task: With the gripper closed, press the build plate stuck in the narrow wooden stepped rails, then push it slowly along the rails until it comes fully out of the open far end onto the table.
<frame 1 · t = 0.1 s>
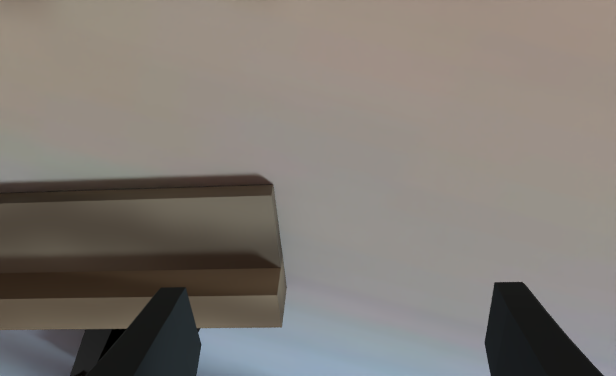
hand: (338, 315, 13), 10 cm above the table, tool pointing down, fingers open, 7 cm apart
wooden stepped rails: (148, 350, 29), on the table
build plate: (138, 340, 30), on the table
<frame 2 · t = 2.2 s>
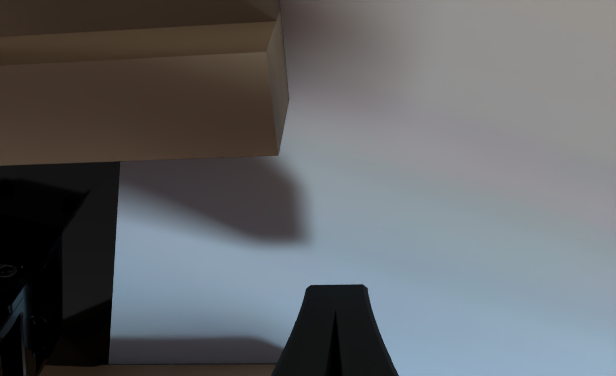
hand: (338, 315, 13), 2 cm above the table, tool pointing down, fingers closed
wooden stepped rails: (25, 260, 15), on the table
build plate: (30, 249, 16), on the table
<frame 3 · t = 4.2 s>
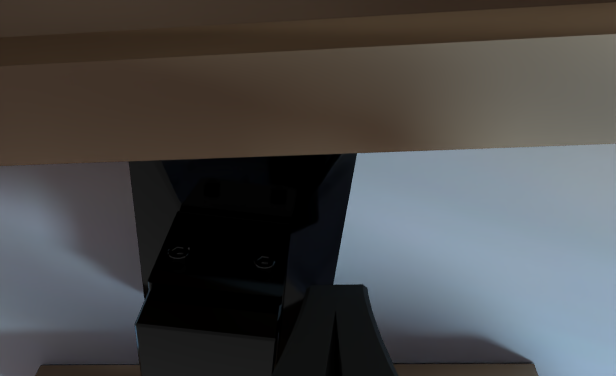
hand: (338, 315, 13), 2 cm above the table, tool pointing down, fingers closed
wooden stepped rails: (260, 255, 15), on the table
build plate: (240, 246, 16), on the table
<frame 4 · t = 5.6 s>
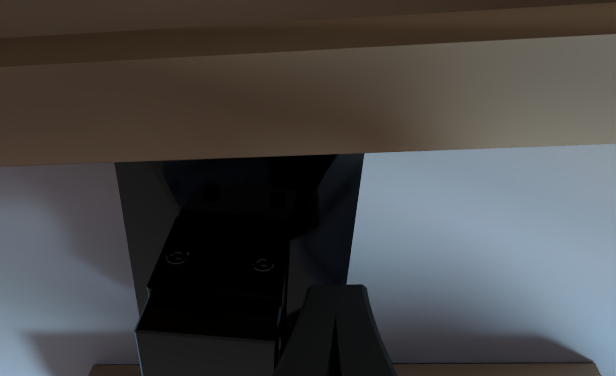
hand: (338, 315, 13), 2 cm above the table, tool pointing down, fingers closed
wooden stepped rails: (326, 254, 15), on the table
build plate: (242, 250, 16), on the table
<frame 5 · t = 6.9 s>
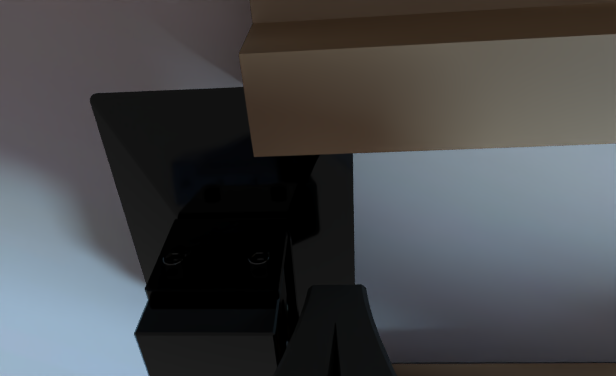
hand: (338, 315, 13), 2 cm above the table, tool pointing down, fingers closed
wooden stepped rails: (591, 248, 14), on the table
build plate: (248, 248, 16), on the table
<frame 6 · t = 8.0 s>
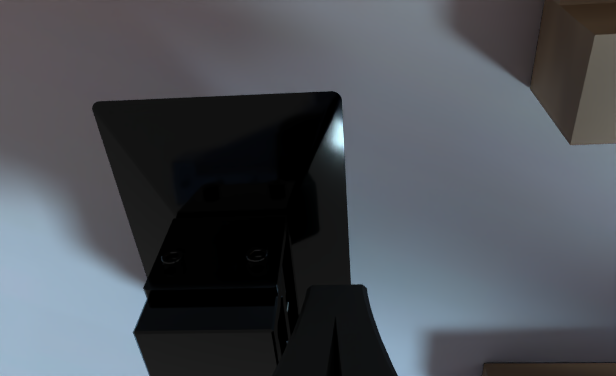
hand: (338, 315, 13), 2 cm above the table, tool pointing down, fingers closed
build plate: (248, 247, 16), on the table
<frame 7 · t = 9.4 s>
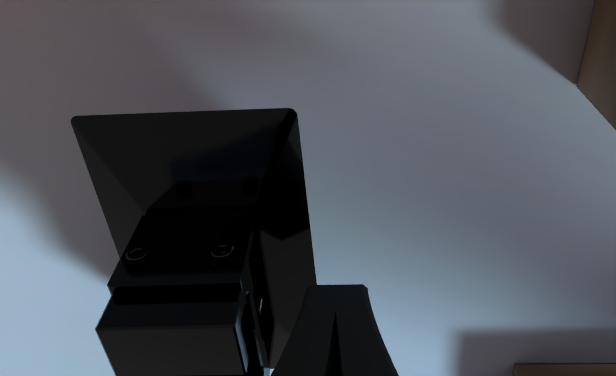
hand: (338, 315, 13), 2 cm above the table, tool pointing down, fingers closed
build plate: (222, 243, 16), on the table
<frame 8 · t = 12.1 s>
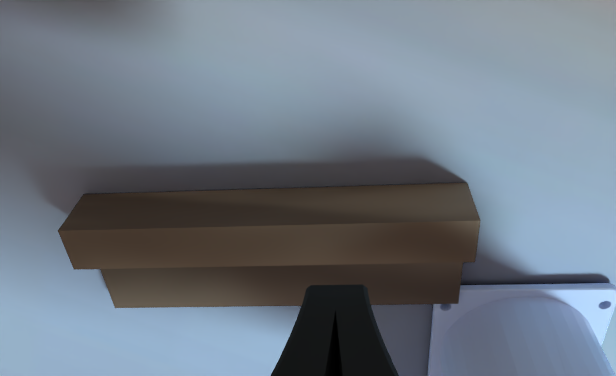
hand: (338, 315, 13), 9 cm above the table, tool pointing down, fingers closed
wooden stepped rails: (255, 84, 20), on the table
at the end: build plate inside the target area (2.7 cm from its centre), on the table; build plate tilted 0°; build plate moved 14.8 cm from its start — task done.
